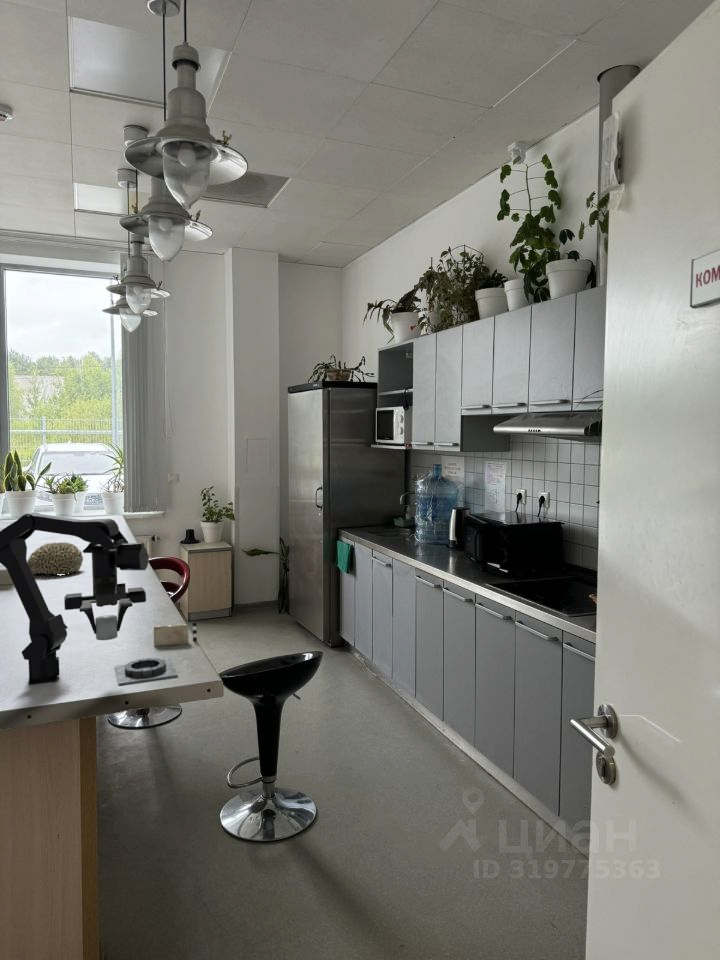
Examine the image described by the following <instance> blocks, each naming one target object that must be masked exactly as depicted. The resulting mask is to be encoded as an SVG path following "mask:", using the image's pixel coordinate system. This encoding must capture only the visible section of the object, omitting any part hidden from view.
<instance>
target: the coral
mask: <svg viewBox="0 0 720 960" xmlns="http://www.w3.org/2000/svg"><path fill="white" fill-rule="evenodd" d="M82 553H83V552H82V551H81V549H79V547H78V546H76V545H75V544H72V543H69V542H50V543H46V544H43V545H41V546H40V547H37V549H35V550H34V551H33V552H32V553H30V556H29V557H28V559H27V563H28V565H29V567H30V569H31V571H32V574H36V575H38V574H40V573H42V574H44V575H45V574H46V575H47V574H53V575H56V574H68V573H71V574H74V573H73V572H77V573H79V571H80V569H81V567H82V565H83V561H84V556H83V554H82ZM78 570H79V571H78ZM37 573H38V574H37ZM68 575H69V574H68Z"/></svg>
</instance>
